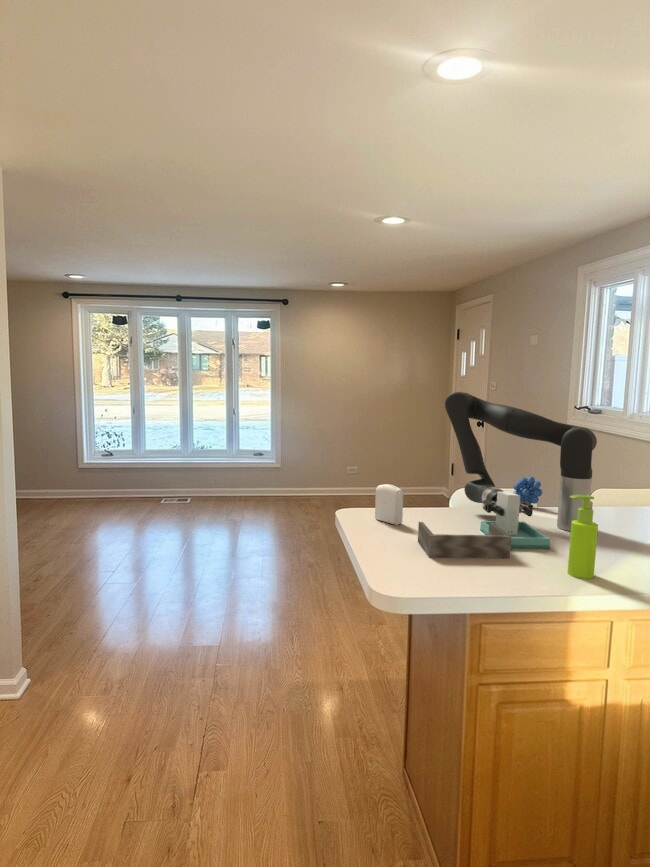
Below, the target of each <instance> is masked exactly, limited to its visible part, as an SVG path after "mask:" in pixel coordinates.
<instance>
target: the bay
mask: <svg viewBox="0 0 650 867" xmlns="http://www.w3.org/2000/svg"><path fill="white" fill-rule="evenodd" d="M417 543H418V545H419V546H420V548H421V549H422V550H423V551H424V552H425V555H426V556H427V557H428V558H433V559H434V558H435V559H436V558H438V559H439V558H440V559H442V558H445V557H446V558H445V559H451V558H452V559H511V549H512V548H511V536H510V535H508V534H507V533H506V532H504V531H503V530H502V529H500V528H499V527H498V526H496V525H495V524H494V523H489V533H488V535H485V534H447V533H446V534H445V533H444V534H438V533H436V534H435V533H433V532H432V531H431V529H430V528H428V525H426V523H425V522H423V521H418V530H417Z"/></svg>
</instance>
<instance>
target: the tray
mask: <svg viewBox="0 0 650 867" xmlns="http://www.w3.org/2000/svg"><path fill="white" fill-rule="evenodd" d="M495 522H496V520H495V521H494V520H493V521H491V520H489V521H488V520H485V521H484V520H481V521H480V530H479V531H480V532H482V533H483V535H488V533H489V523H494V524H495ZM510 536H511V549H517V550H518V549H519V550H520V549H522V550H523V549H524V550H525V549H526V550H527V549H529V550H530V549H531V550H537V549H538V550H540V549H541V550H550V549H551V548H550V547H551V538H550V537H548V536H546V535H545V534H544V533H543V532H540V531H539V530H537V529H536V528H534V527H533V526H531V525H529V524H528V523H526V522H525V521H518V533H517V535H510Z"/></svg>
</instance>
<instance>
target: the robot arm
mask: <svg viewBox="0 0 650 867" xmlns="http://www.w3.org/2000/svg"><path fill="white" fill-rule="evenodd" d="M444 401H445V402H444V408H445V411H446V414H447V416H448V418H449V421H450V422H451V426H452V428H453V431H454V434H455V437H456V439H457V442H458V446H459V450H460V454H461V458H462V461H463V467H464V471H465V473H466V474H467V475H468V474H469V475H478V476H479V477H480V478H479V479H475V480H470V481H468V482H466V484H465V485H464V494H465V496H466V498H467V499H468V500H469V501H471V502H473V503H478V504H482V509H483V510H484V511H485V512H486V513H488V514H489V513H490V514H491V513H493V514H495V515H496V513H497V514H499V515H500V516H503V515H504V509H503V508H501V507H500V506H498V505H497V492H499V491H504V490H503V489H501V488H498V487H496V485H495V482H494V481H493V479H492V477H491V476H490V474H489V472H488V470H487V468H486V465H485V462H484V458H483V454H482V449H481V447H480V444H479V442H478V440H477V438H476V435H475V434H474V432H473V429H472V426H471V423H470V419H472V420H476V421H480V422H483V423H486V424H488V425H490V426H492V427H493V428H495V429H497V430H499V431H501V432H504V433H506V434H508V435H512V436H515V437H519V438H523V439H528V440H533V441H542V442H546V443H551V444H554V445H556V446H559V447H560V456H559V457H560V460H559V467H560V480H559V494H558V505H557V507H558V508H557V519H556V527H557V528H558V529H561V530H564V531H568V532H571V522H572V521H573V520H577V517H578V508H580V507H582V502H583V499H576V500H574V499H572V498H570V497H569V496H573V495H590V496H592V494H591V493H592V481H593V468H592V458H593V457H592V456H593V451H594V450H595V448H596V446H597V444H598V443H597V436H596V434H595V432H593V431H592V430H591V429H590V428H587V427H583V426H577V425H572V424H567V423H562V422H558V421H555V420H552V419H550V418H547V417H544V416H543V415H542V416H541V415H539V414H536V413H533V412H531V411H529V410H524V409H521V408H518V407H515V406H509V405H505V404H500V403H499V404H498V403H493V402H489V401H486V400H484V399H483V398H478V397H477V396H474V395H472V394H470V393H468V392H464V391H463V392H462V391H454V392H451V393H449V394H448V395H447V396H446V398H445V400H444ZM593 505H594V504H593V501H592V500H590V508H591V509H593ZM533 509H534V504H532V503H531V504H529V503H527V502H525V501H522V503H521V502H520V506H519V514H523V515H526V516H527V517H532V516H533V511H534V510H533Z"/></svg>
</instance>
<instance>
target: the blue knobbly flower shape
mask: <svg viewBox="0 0 650 867" xmlns="http://www.w3.org/2000/svg"><path fill="white" fill-rule="evenodd" d="M541 485H542V483H541V481H539V480H536V478H535V477H534V476H529V477H528V478H526V477H524V476H523V477H521V478H520V479H519V480H518V482H517V483H515V484H514V485H513V492H512V493H514V494H517V495H520V502H521V503H522V501H525V502H527V503H529V504H531V505H536V504H537V503H539V500H540V499H539V497H541V496H542V495H543V490H542V489H541Z"/></svg>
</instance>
